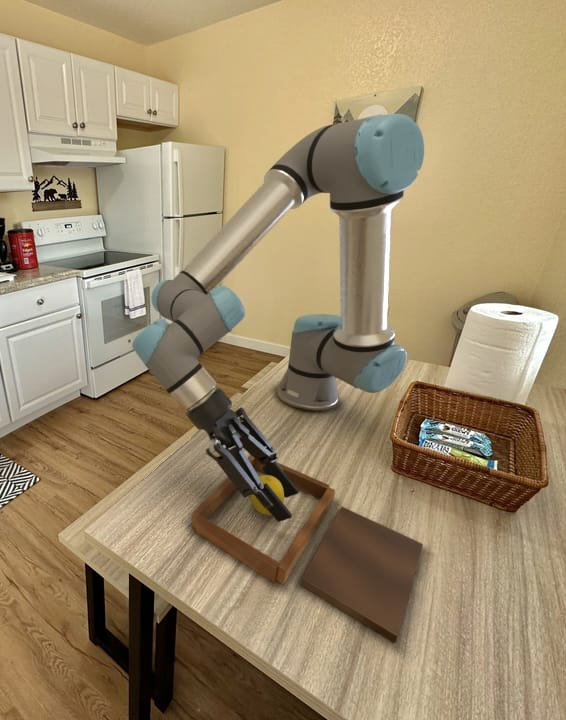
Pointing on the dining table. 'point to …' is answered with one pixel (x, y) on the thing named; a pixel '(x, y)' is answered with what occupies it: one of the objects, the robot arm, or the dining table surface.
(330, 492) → the wooden frame
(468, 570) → the dining table surface
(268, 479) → the lemon
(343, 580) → the cutting board
